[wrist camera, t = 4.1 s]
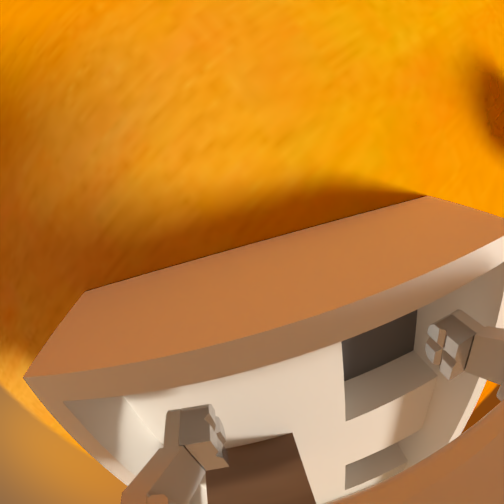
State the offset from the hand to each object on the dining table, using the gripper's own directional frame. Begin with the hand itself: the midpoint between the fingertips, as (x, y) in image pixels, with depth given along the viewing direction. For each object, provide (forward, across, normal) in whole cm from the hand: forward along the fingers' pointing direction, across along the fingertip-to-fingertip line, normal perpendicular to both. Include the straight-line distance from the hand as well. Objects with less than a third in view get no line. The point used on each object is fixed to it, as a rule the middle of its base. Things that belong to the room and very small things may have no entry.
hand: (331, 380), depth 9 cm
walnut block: (+2, +4, +7) cm, 8 cm away
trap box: (+5, 0, +9) cm, 10 cm away
